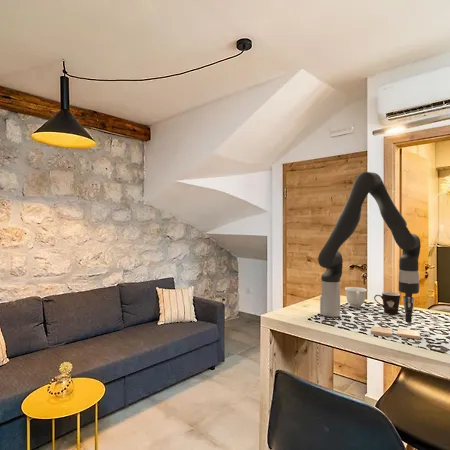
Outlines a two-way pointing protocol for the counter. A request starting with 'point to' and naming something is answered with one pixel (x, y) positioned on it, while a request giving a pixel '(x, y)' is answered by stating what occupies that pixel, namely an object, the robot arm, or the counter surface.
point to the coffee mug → (390, 302)
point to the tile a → (381, 331)
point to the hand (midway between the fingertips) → (408, 322)
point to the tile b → (409, 333)
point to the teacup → (355, 296)
